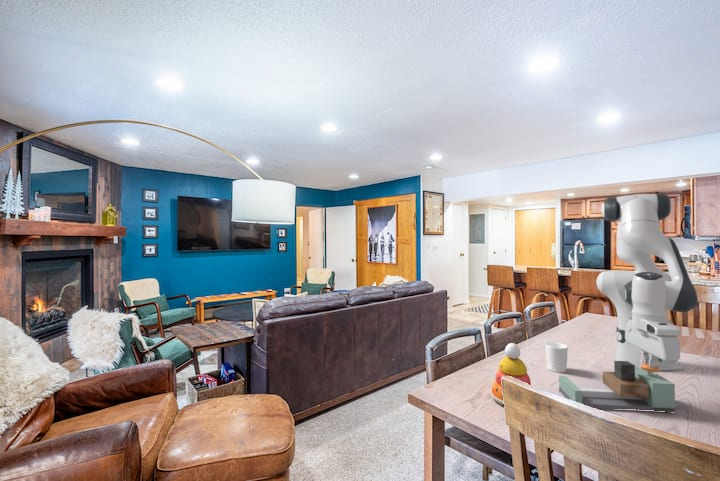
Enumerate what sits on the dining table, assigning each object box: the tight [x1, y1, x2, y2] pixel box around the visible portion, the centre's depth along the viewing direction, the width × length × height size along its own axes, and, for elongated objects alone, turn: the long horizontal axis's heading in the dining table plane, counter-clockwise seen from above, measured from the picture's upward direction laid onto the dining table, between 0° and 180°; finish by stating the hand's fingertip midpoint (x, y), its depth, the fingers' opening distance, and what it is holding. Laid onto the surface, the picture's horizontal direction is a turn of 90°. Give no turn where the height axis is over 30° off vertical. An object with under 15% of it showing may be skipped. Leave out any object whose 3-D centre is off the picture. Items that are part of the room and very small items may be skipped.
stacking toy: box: [489, 342, 532, 406], centre depth 113 cm, size 14×14×20 cm
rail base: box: [558, 367, 676, 414], centre depth 111 cm, size 28×12×9 cm, turn 81°
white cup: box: [544, 341, 569, 374], centre depth 137 cm, size 8×8×10 cm
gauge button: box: [641, 363, 660, 376], centre depth 109 cm, size 4×4×3 cm
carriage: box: [602, 360, 649, 398], centre depth 110 cm, size 8×10×9 cm
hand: (649, 365), depth 109 cm, fingers closed, pressing on gauge button
